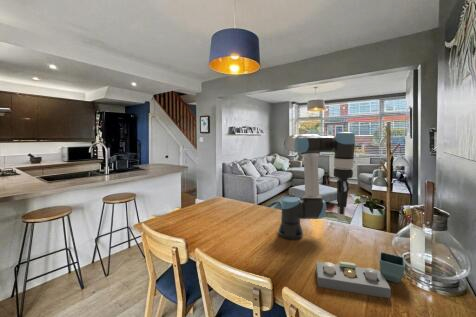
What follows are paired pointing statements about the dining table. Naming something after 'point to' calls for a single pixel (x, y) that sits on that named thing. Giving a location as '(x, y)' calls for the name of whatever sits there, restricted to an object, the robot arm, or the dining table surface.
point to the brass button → (349, 273)
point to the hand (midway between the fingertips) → (340, 220)
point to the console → (352, 281)
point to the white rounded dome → (371, 274)
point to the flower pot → (392, 267)
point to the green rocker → (347, 265)
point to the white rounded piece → (329, 268)
